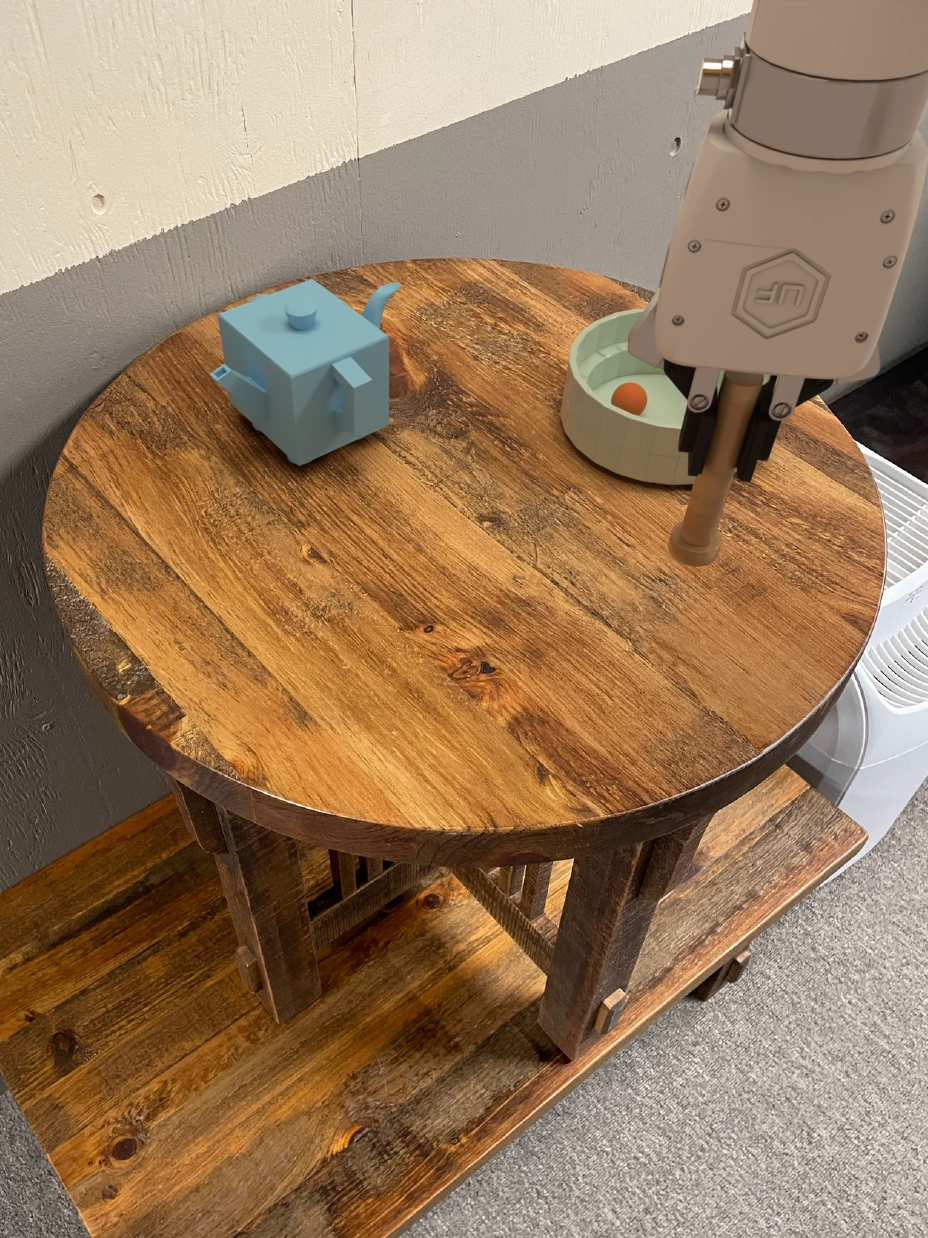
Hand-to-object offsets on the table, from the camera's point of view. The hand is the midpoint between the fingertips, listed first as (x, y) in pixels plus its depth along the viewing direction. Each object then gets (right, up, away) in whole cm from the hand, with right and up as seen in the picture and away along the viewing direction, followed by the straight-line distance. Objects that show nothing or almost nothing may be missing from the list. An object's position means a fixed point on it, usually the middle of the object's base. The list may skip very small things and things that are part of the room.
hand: (719, 461), depth 55 cm
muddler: (0, -4, +5) cm, 7 cm away
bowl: (+5, +11, +31) cm, 33 cm away
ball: (+2, +13, +30) cm, 32 cm away
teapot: (-25, +11, +31) cm, 41 cm away
